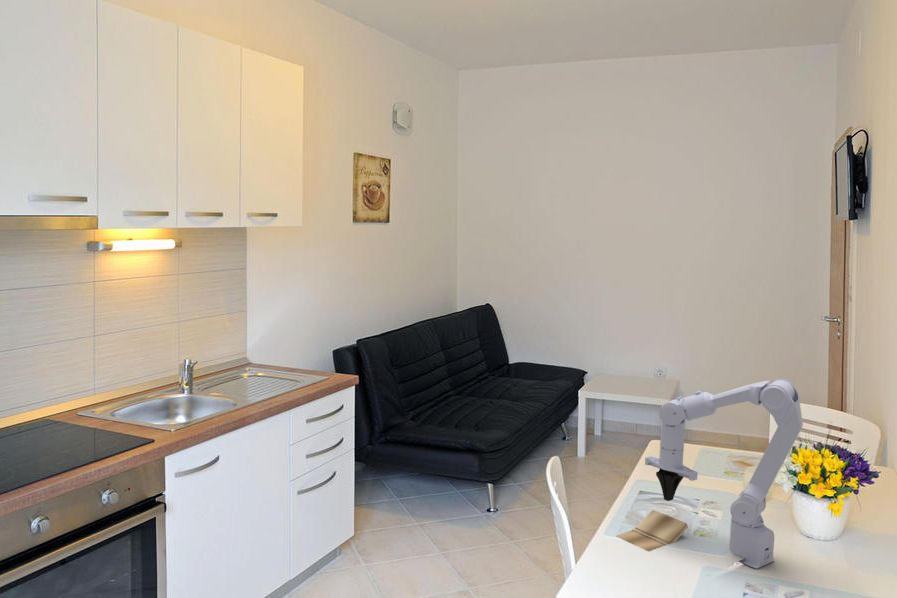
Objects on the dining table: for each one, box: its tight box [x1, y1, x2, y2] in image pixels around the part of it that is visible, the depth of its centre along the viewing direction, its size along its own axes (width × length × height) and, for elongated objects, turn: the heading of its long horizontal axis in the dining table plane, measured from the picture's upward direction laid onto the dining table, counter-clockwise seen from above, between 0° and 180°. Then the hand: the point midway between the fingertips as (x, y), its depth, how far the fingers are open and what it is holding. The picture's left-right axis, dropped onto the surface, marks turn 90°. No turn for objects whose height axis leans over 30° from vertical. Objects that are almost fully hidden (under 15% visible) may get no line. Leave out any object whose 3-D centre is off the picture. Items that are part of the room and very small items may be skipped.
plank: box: [633, 509, 689, 545], centre depth 191 cm, size 10×8×2 cm
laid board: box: [615, 529, 668, 552], centre depth 186 cm, size 10×7×2 cm
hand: (668, 499), depth 191 cm, fingers closed
